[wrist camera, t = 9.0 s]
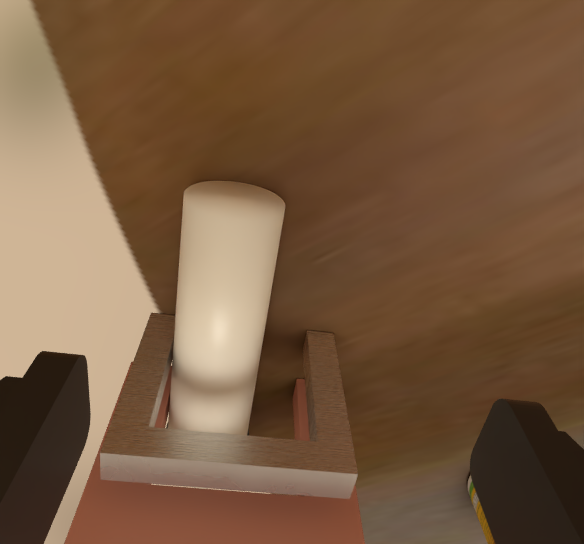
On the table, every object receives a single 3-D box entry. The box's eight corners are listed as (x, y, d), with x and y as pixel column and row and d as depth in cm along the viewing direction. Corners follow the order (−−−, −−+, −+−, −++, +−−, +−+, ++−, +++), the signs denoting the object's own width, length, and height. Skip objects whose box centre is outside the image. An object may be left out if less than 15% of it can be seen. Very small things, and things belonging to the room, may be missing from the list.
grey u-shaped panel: (333, 333, 29) (358, 474, 21) (328, 354, 30) (349, 499, 21) (151, 312, 28) (99, 452, 20) (150, 335, 29) (100, 479, 20)
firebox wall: (338, 382, 31) (372, 590, 20) (324, 436, 33) (348, 649, 22) (131, 361, 29) (53, 571, 19) (130, 419, 32) (60, 636, 21)
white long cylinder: (229, 173, 25) (158, 192, 22) (307, 204, 23) (243, 231, 20) (202, 415, 33) (146, 458, 29) (260, 454, 31) (207, 505, 27)
